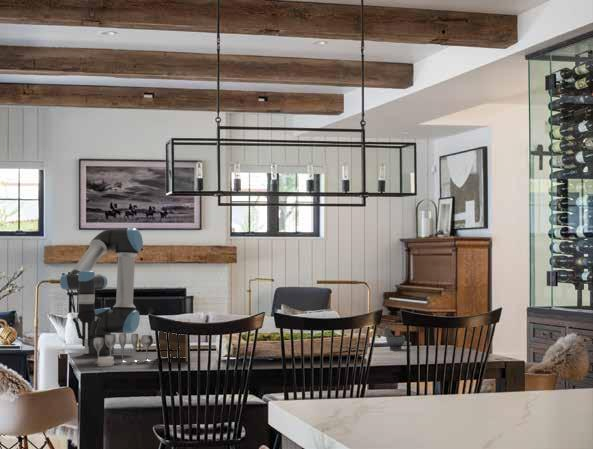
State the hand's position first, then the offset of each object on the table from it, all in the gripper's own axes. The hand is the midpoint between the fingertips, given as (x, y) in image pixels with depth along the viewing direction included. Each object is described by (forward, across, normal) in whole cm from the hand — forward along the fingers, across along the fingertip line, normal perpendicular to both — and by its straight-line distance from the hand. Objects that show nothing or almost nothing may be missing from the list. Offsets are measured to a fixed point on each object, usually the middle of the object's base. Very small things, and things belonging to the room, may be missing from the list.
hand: (86, 353), depth 452 cm
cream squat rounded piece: (+5, +10, -13) cm, 17 cm away
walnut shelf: (+4, +40, 0) cm, 41 cm away
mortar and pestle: (+4, +154, +35) cm, 158 cm away
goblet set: (+5, +17, 0) cm, 18 cm away
